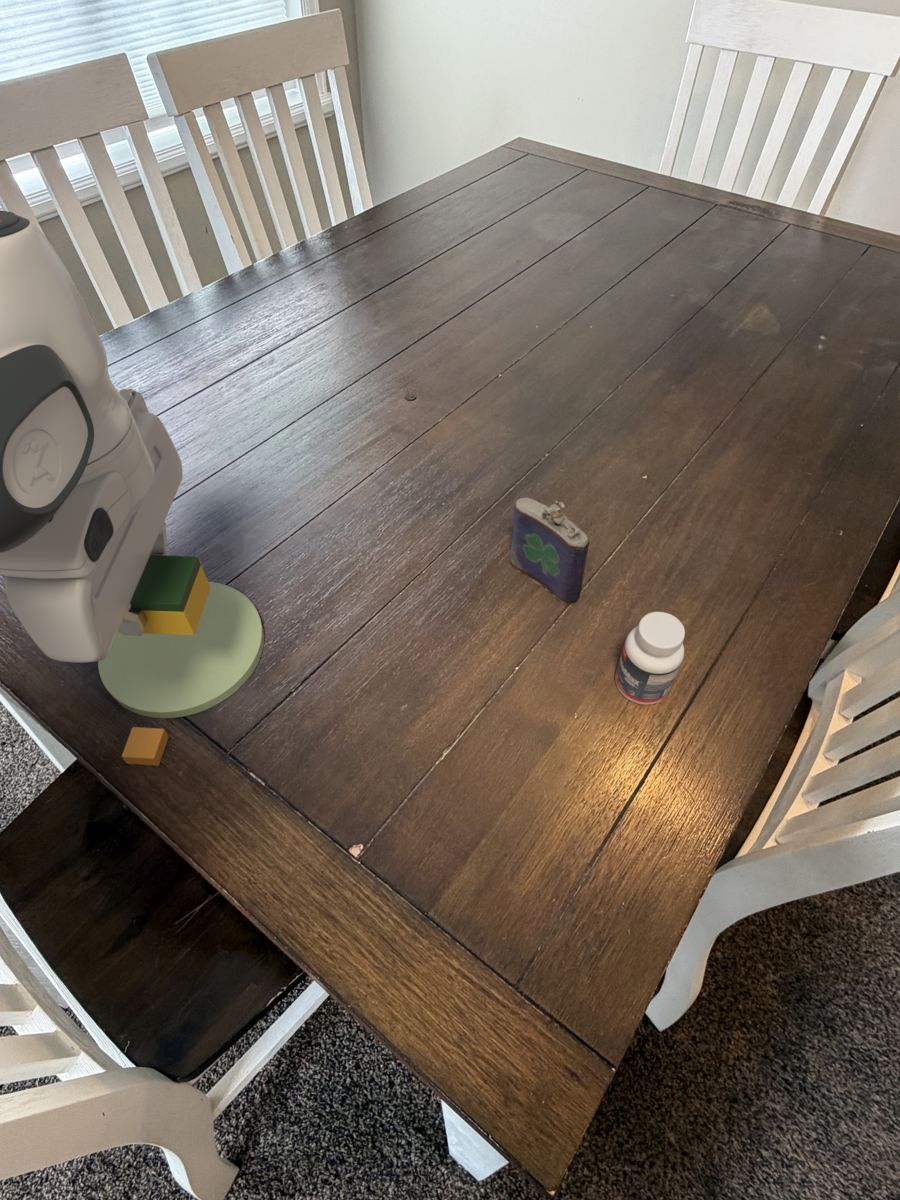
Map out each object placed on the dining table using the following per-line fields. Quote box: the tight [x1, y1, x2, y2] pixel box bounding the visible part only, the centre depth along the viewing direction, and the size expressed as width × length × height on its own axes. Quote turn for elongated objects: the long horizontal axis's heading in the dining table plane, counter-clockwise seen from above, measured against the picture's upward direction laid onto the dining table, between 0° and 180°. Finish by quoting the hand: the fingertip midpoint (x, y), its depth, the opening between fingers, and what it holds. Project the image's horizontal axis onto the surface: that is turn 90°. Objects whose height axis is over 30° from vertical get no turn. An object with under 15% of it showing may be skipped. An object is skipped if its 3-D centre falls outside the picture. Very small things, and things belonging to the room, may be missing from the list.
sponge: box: [118, 555, 211, 635], centre depth 59 cm, size 8×5×4 cm, turn 87°
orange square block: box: [121, 726, 170, 766], centre depth 66 cm, size 3×3×2 cm
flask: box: [509, 496, 590, 606], centre depth 75 cm, size 9×3×11 cm, turn 44°
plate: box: [97, 580, 265, 719], centre depth 73 cm, size 16×16×1 cm
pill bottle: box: [614, 611, 686, 706], centre depth 67 cm, size 5×5×9 cm
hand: (148, 597), depth 59 cm, fingers closed on sponge, 5 cm apart
